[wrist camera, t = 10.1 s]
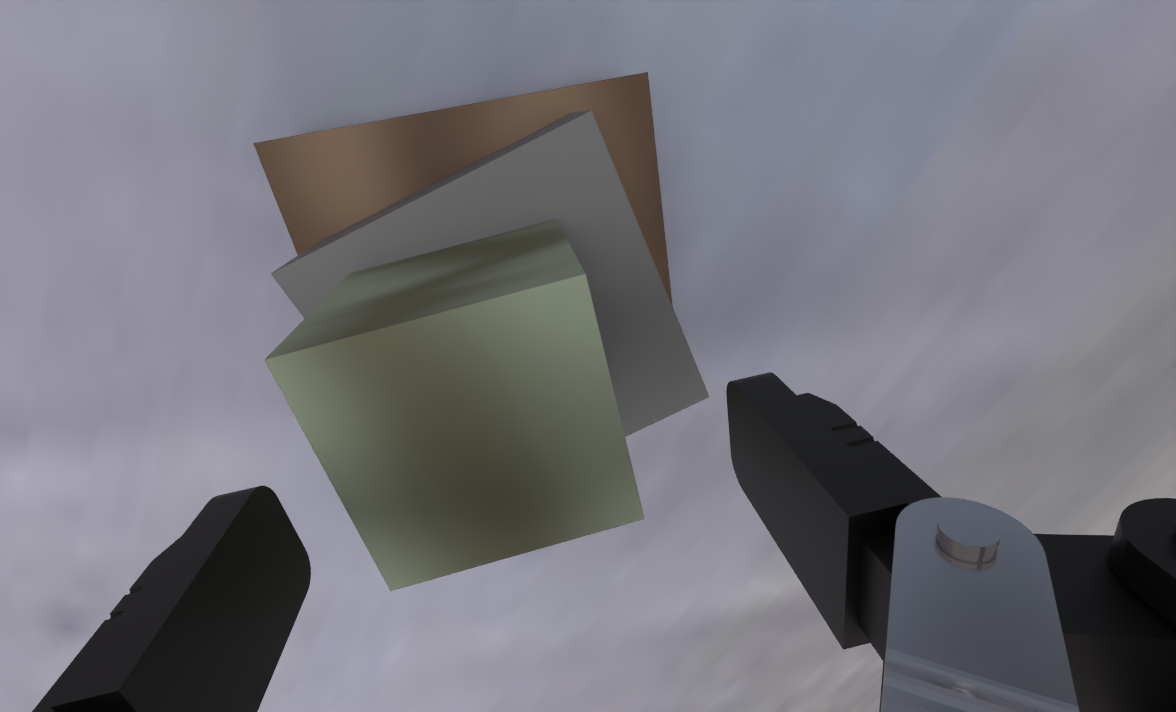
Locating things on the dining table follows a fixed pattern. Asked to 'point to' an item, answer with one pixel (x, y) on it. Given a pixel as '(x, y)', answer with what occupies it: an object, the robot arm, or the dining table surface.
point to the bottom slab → (456, 157)
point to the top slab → (524, 198)
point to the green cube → (463, 404)
